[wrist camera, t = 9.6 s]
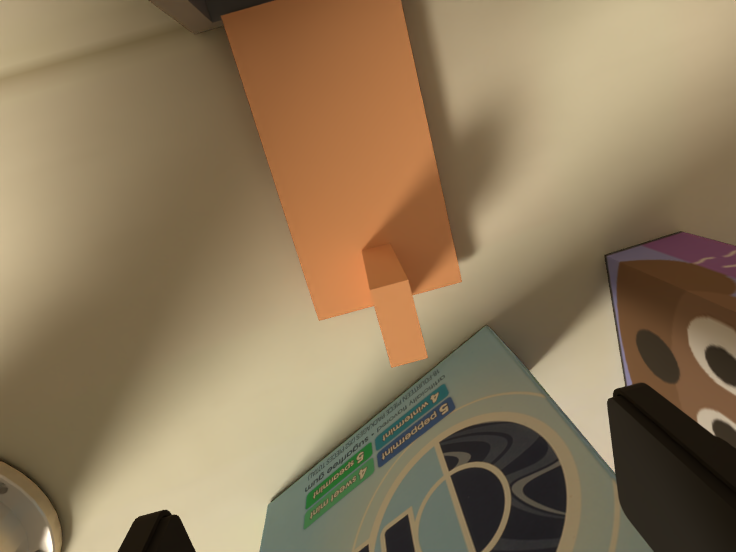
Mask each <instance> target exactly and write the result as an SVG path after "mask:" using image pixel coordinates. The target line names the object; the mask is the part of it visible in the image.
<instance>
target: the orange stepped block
mask: <svg viewBox="0 0 736 552" xmlns="http://www.w3.org/2000/svg"><path fill="white" fill-rule="evenodd" d="M221 18H222V21H223V24H224V27H225V30H226V34H227V37H228V40H229V43H230V46H231V49H232V52H233V55H234V58H235V62H236V65H237V68H238V71H239V74H240V77H241V80H242V83H243V86H244V90H245V93H246V96H247V99H248V102H249V105H250V108H251V111H252V114H253V117H254V121H255V124H256V127H257V130H258V133H259V136H260V139H261V142H262V145H263V149H264V152H265V155H266V158H267V161H268V164H269V167H270V170H271V173H272V177H273V180H274V183H275V186H276V189H277V192H278V195H279V198H280V201H281V204H282V208H283V211H284V214H285V217H286V220H287V223H288V226H289V229H290V232H291V236H292V239H293V242H294V245H295V248H296V251H297V254H298V257H299V260H300V264H301V267H302V270H303V273H304V276H305V279H306V282H307V285H308V288H309V291H310V295H311V298H312V301H313V304H314V307H315V310H316V313H317V316H318V319H319V321H320V320H324V319H328V318H331V317H335V316H339V315H342V314H346V313H350V312H353V311H357V310H361V309H364V308H368V307H371V306H374V307H375V311H376V314H377V318H378V321H379V325H380V328H381V332H382V335H383V339H384V343H385V346H386V350H387V353H388V357H389V360H390V364H391V368H392V367H396V366H400V365H403V364H407V363H411V362H415V361H418V360H422V359H426V358H428V356H427V352H426V348H425V344H424V340H423V336H422V332H421V328H420V324H419V320H418V317H417V313H416V309H415V305H414V301H413V297H412V295H415V294H419V293H423V292H426V291H430V290H434V289H437V288H441V287H445V286H448V285H452V284H456V283H459V282H462V280H461V275H460V271H459V266H458V261H457V257H456V252H455V248H454V243H453V238H452V234H451V229H450V225H449V220H448V215H447V211H446V206H445V201H444V197H443V192H442V188H441V183H440V178H439V174H438V169H437V165H436V160H435V155H434V151H433V146H432V142H431V137H430V132H429V128H428V123H427V119H426V114H425V109H424V105H423V100H422V95H421V91H420V86H419V82H418V77H417V72H416V68H415V63H414V59H413V54H412V49H411V45H410V40H409V36H408V31H407V26H406V22H405V17H404V13H403V8H402V3H401V0H274V1H271V2H267V3H264V4H260V5H257V6H253V7H250V8H246V9H243V10H239V11H236V12H232V13H229V14H225V15H222V16H221Z"/></svg>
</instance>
